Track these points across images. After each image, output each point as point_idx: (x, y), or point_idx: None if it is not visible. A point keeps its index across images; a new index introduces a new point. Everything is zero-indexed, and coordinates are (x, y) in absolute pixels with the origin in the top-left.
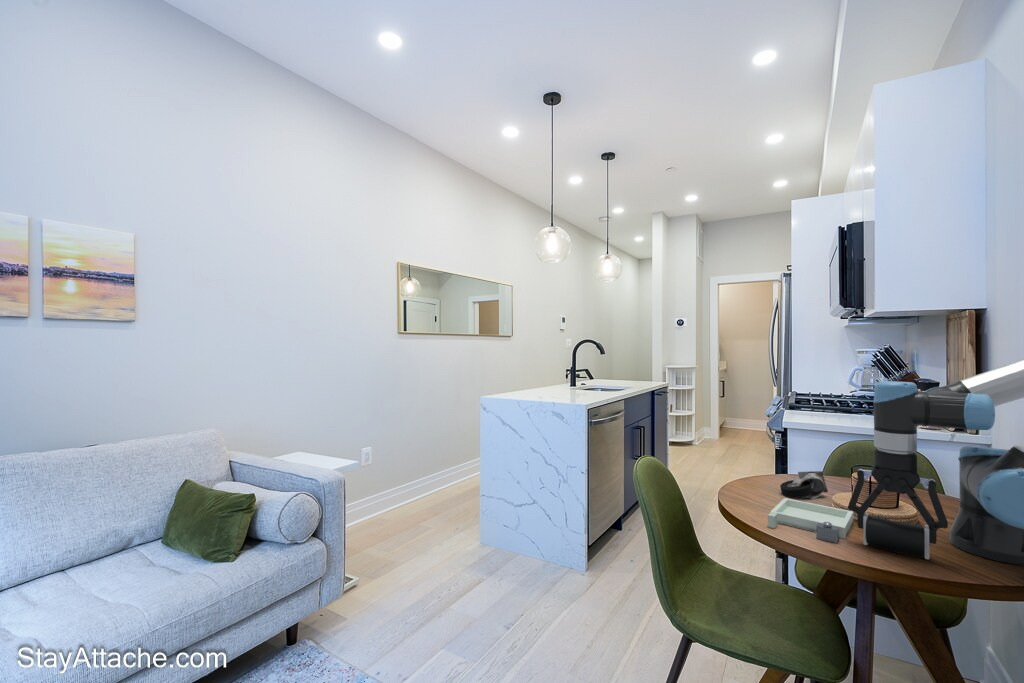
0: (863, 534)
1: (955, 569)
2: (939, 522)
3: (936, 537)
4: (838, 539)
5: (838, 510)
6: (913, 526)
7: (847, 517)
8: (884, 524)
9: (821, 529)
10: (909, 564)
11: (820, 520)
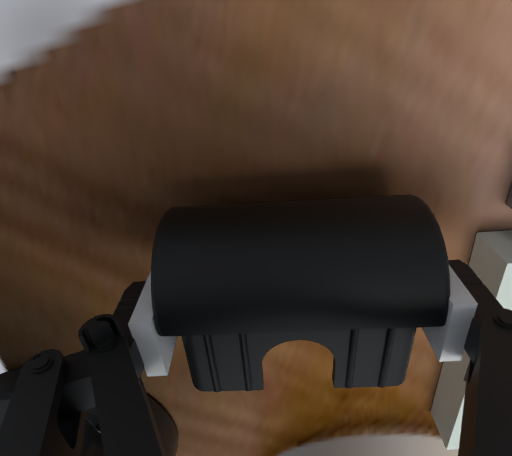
0: None
1: (85, 207)
2: (56, 377)
3: (119, 309)
4: (508, 199)
5: None
6: (205, 320)
7: None
8: (350, 276)
9: None
10: (218, 120)
11: None
